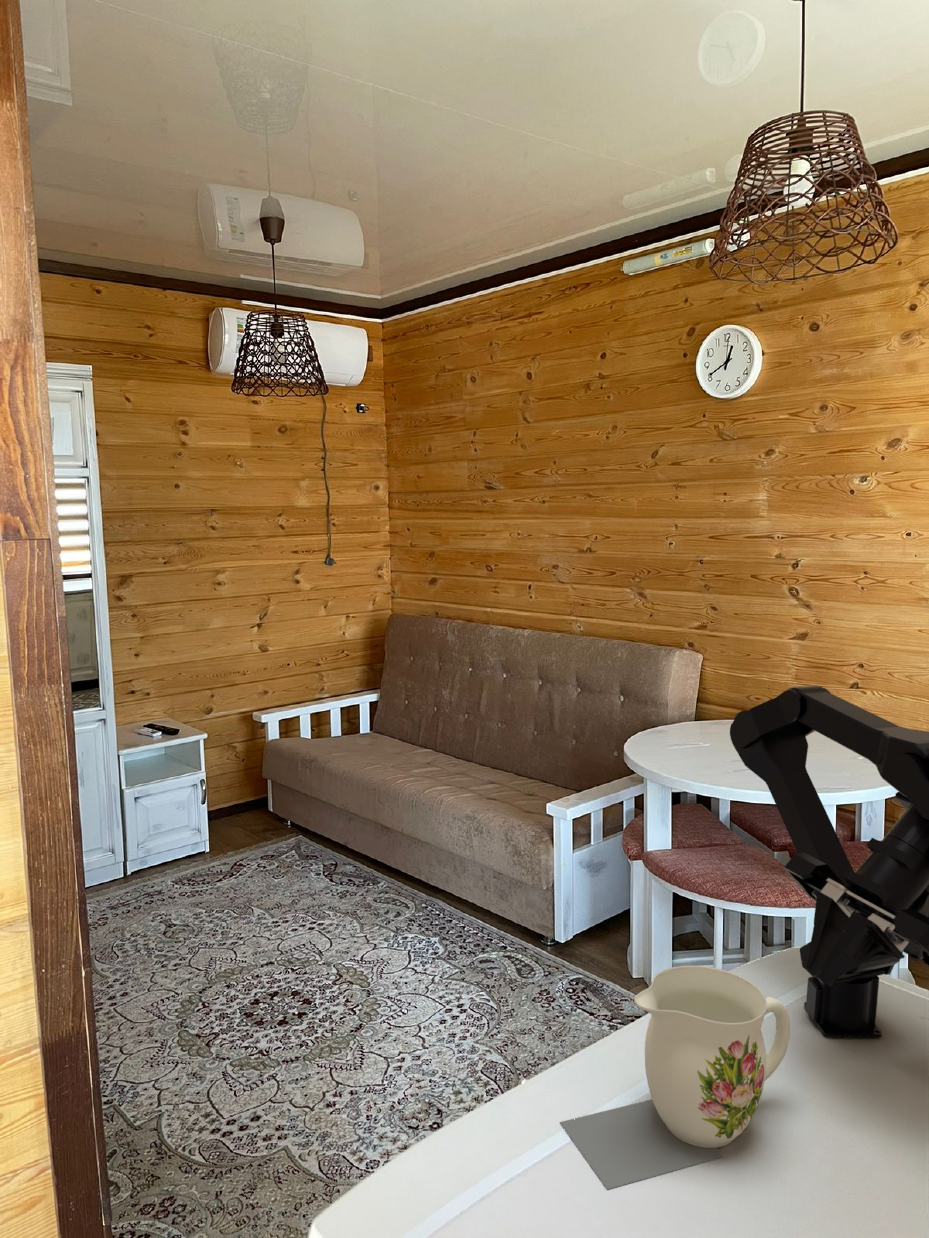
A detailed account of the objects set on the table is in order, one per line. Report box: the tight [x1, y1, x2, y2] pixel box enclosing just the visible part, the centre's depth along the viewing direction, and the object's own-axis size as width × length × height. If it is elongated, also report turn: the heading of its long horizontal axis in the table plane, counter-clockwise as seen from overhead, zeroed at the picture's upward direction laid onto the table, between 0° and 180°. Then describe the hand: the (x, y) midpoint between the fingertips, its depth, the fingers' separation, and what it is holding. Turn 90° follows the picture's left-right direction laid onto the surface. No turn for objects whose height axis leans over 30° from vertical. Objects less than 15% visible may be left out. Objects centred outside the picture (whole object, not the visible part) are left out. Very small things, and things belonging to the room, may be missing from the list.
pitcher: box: [633, 965, 791, 1149], centre depth 86 cm, size 11×18×14 cm, turn 114°
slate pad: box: [559, 1098, 725, 1191], centre depth 85 cm, size 12×9×1 cm
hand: (815, 976), depth 90 cm, fingers closed
